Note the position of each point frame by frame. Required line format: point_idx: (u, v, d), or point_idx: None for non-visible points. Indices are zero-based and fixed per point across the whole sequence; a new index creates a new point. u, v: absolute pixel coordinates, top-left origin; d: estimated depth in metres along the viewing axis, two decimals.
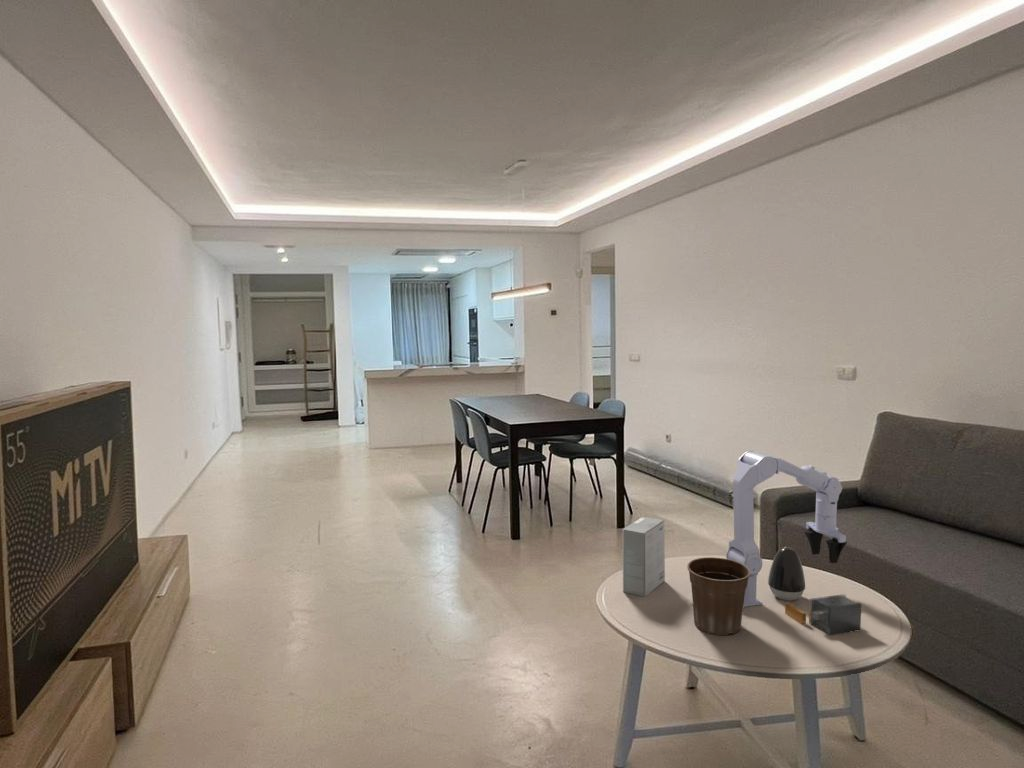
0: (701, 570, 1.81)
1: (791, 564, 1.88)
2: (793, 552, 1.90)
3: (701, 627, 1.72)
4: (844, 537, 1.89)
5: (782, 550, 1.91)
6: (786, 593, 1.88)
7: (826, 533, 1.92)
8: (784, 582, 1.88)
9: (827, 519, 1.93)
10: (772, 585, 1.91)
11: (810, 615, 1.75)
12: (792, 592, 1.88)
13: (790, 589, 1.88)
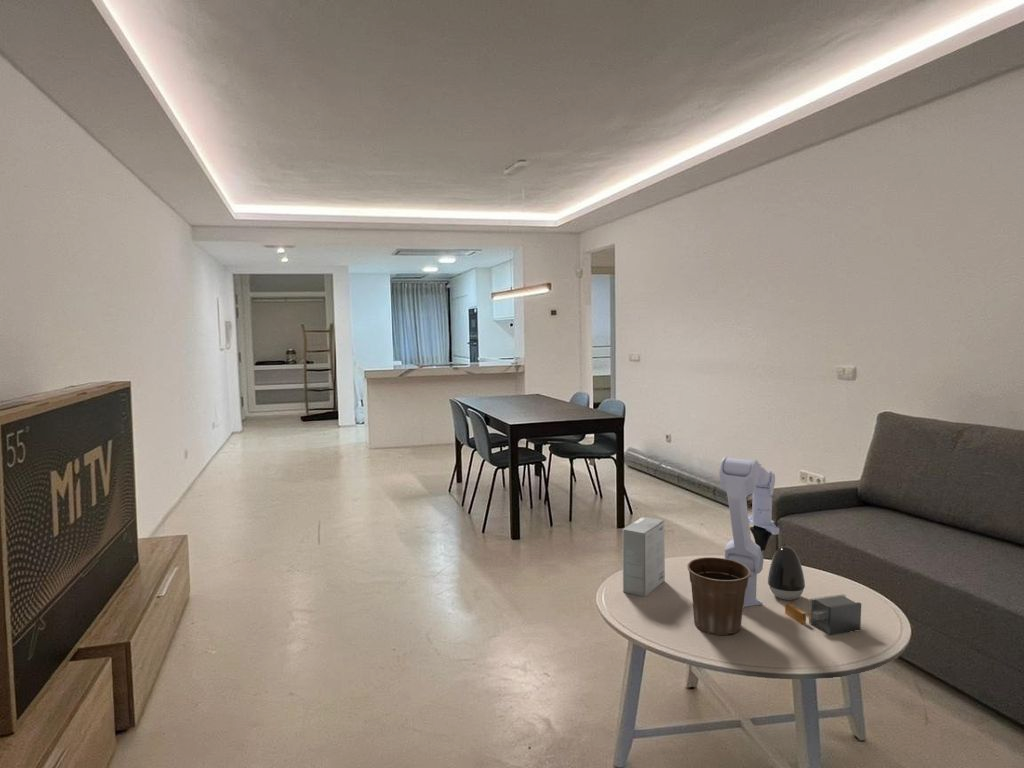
0: (701, 570, 1.81)
1: (789, 563, 1.89)
2: (791, 551, 1.90)
3: (701, 627, 1.72)
4: (777, 529, 1.97)
5: (780, 549, 1.92)
6: (786, 592, 1.89)
7: (761, 526, 2.00)
8: (783, 581, 1.88)
9: (762, 512, 2.00)
10: (772, 584, 1.91)
11: (810, 615, 1.75)
12: (792, 591, 1.88)
13: (790, 588, 1.88)
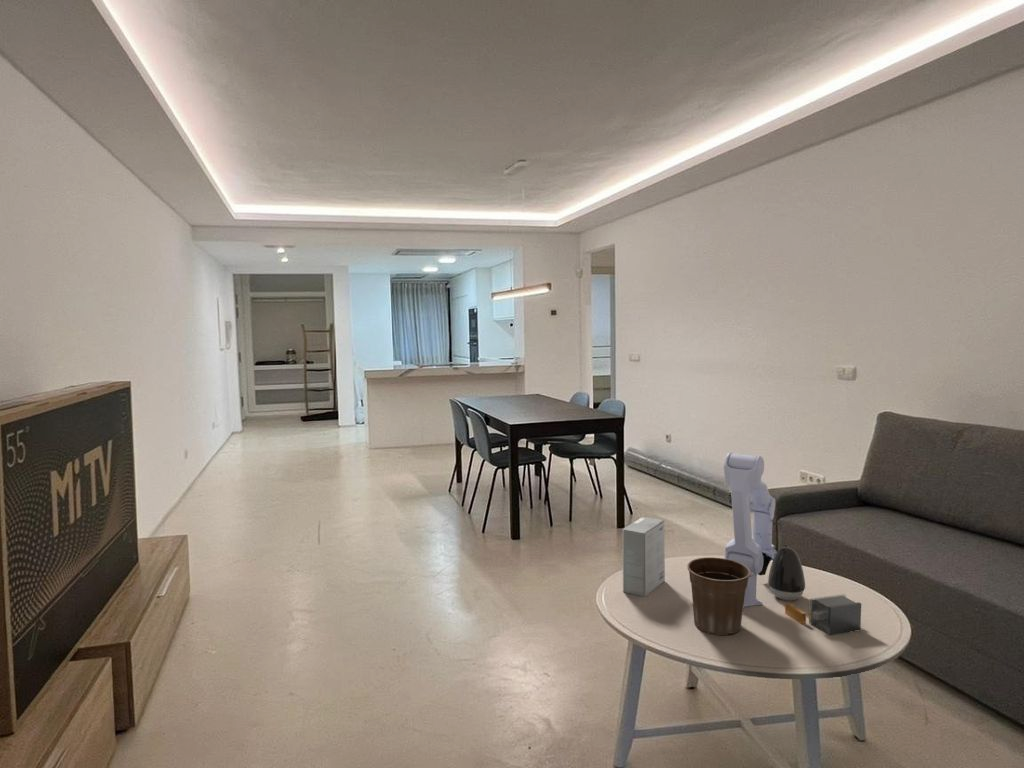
0: (701, 570, 1.81)
1: (790, 564, 1.88)
2: (793, 552, 1.90)
3: (701, 627, 1.72)
4: None
5: (782, 550, 1.91)
6: (786, 593, 1.88)
7: (761, 550, 2.00)
8: (783, 582, 1.88)
9: (762, 537, 2.01)
10: (772, 585, 1.91)
11: (810, 615, 1.75)
12: (792, 592, 1.88)
13: (790, 589, 1.88)
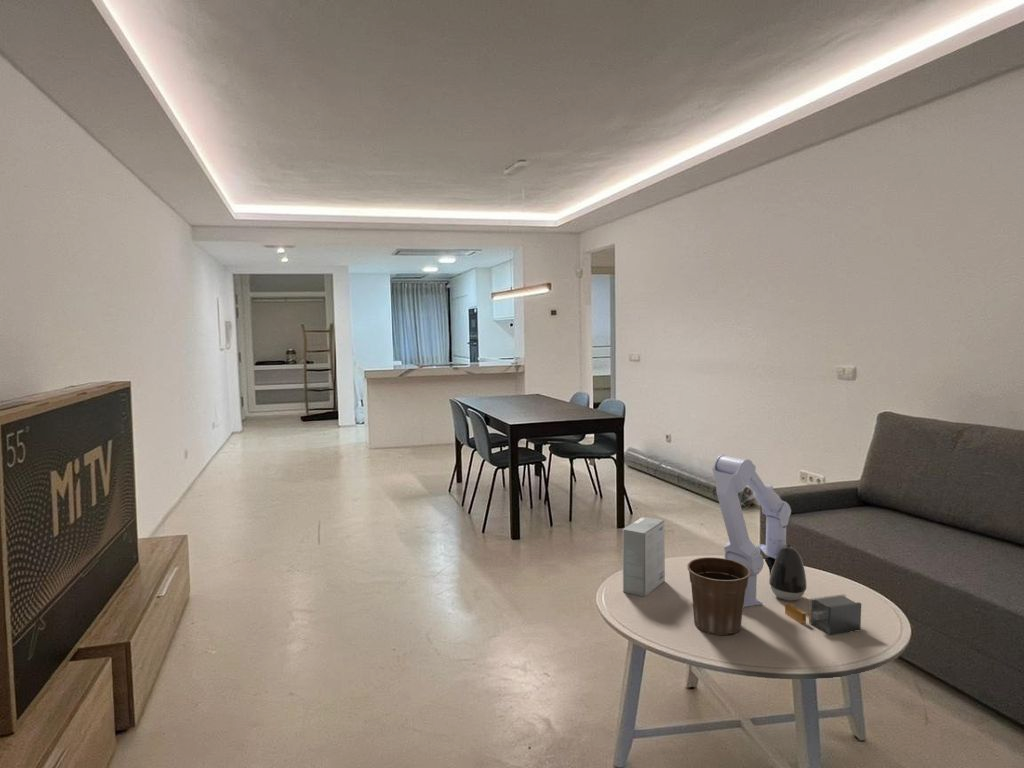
0: (701, 570, 1.81)
1: (792, 565, 1.88)
2: (795, 553, 1.89)
3: (701, 627, 1.72)
4: None
5: (784, 550, 1.91)
6: (786, 593, 1.88)
7: (775, 557, 1.94)
8: (784, 582, 1.88)
9: (776, 543, 1.94)
10: (773, 585, 1.91)
11: (810, 615, 1.75)
12: (792, 592, 1.88)
13: (791, 589, 1.87)
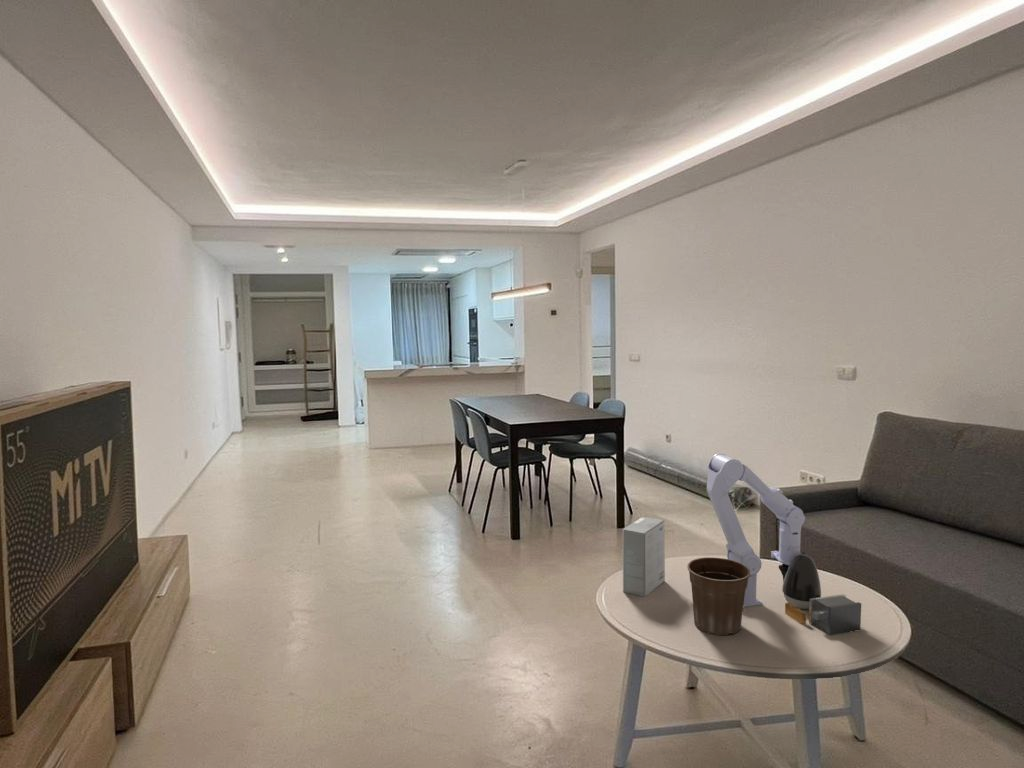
0: (701, 570, 1.81)
1: (806, 572, 1.82)
2: (809, 560, 1.83)
3: (701, 627, 1.72)
4: None
5: (798, 557, 1.85)
6: (799, 601, 1.83)
7: None
8: (797, 590, 1.82)
9: (790, 550, 1.88)
10: (786, 592, 1.85)
11: (810, 615, 1.75)
12: (806, 601, 1.82)
13: (804, 598, 1.82)
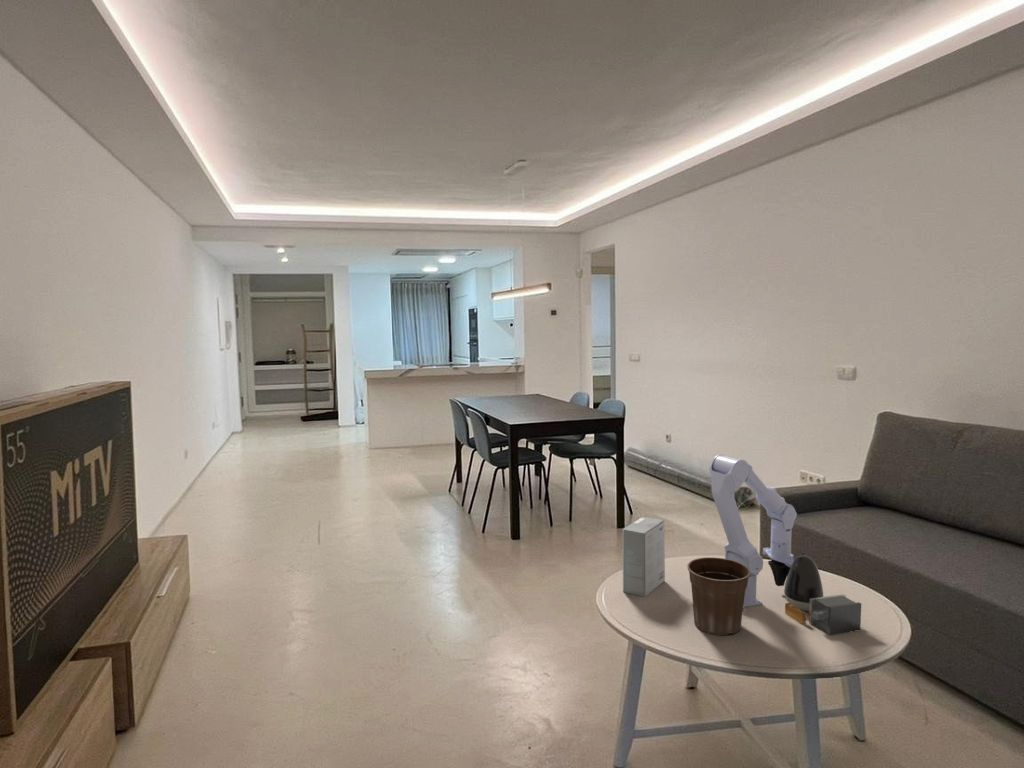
0: (701, 570, 1.81)
1: (808, 573, 1.81)
2: (810, 561, 1.83)
3: (701, 627, 1.72)
4: None
5: (799, 558, 1.84)
6: (802, 603, 1.81)
7: (780, 560, 1.92)
8: (800, 592, 1.81)
9: (781, 546, 1.92)
10: (788, 595, 1.84)
11: (810, 615, 1.75)
12: (809, 602, 1.81)
13: (807, 599, 1.80)
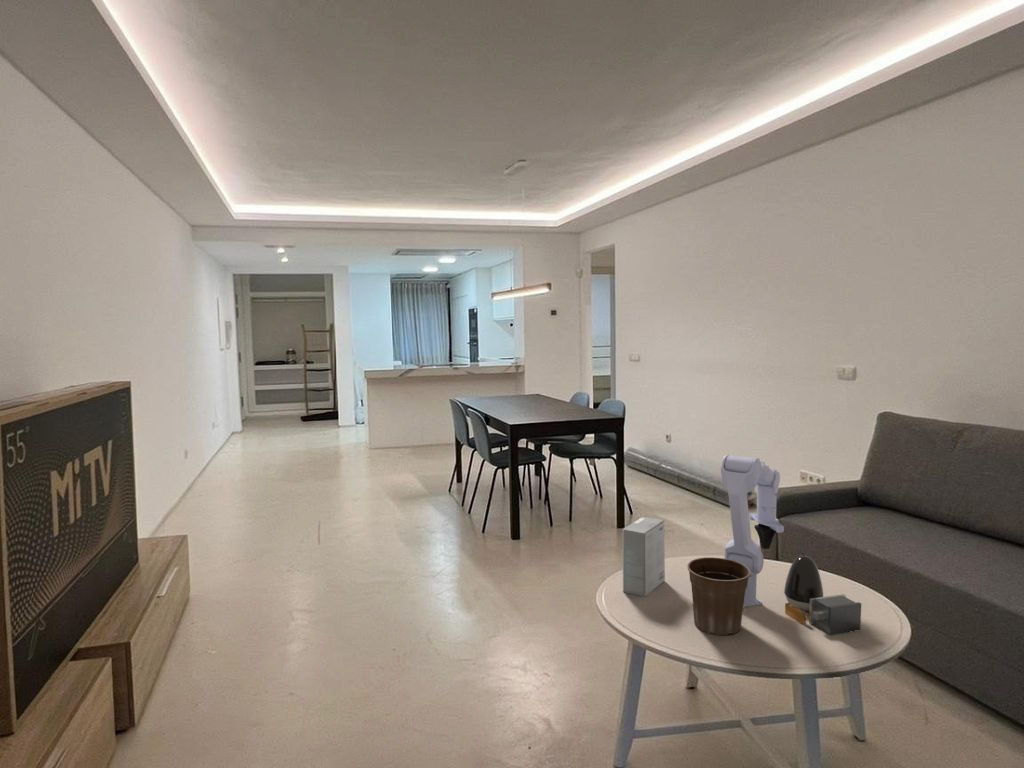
0: (701, 570, 1.81)
1: (808, 573, 1.81)
2: (810, 561, 1.83)
3: (701, 627, 1.72)
4: (782, 527, 1.98)
5: (799, 559, 1.84)
6: (802, 603, 1.81)
7: (766, 524, 2.01)
8: (800, 592, 1.81)
9: (767, 510, 2.01)
10: (788, 595, 1.84)
11: (810, 615, 1.75)
12: (809, 603, 1.81)
13: (807, 599, 1.80)
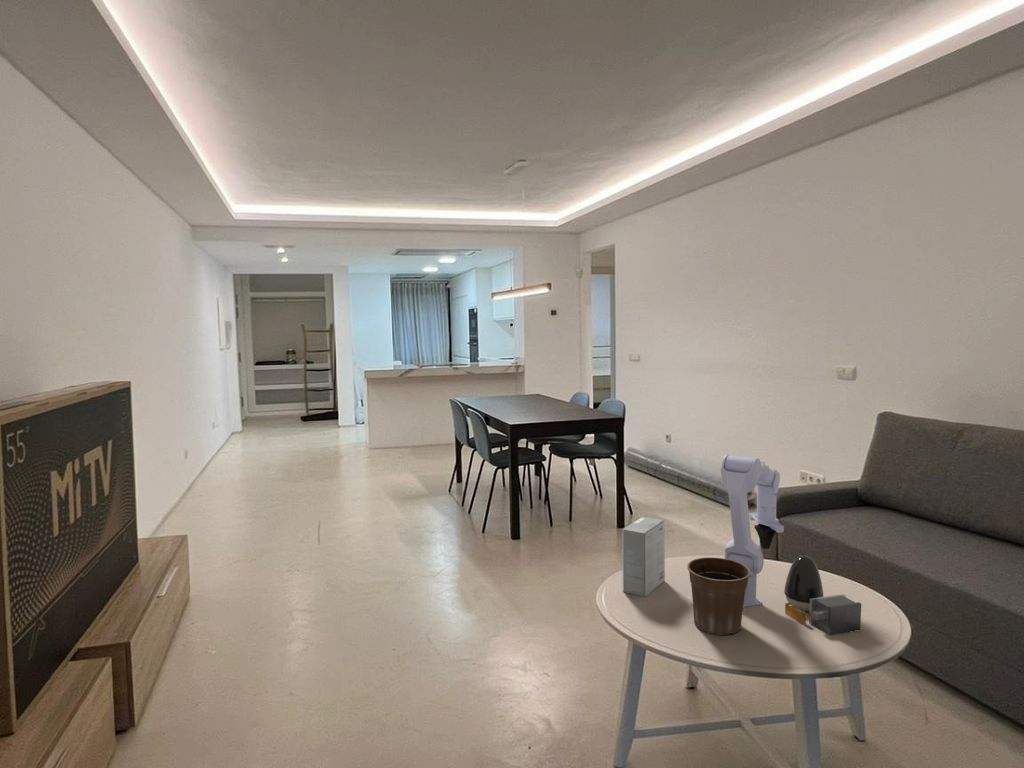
0: (701, 570, 1.81)
1: (808, 573, 1.81)
2: (810, 561, 1.83)
3: (701, 627, 1.72)
4: (782, 527, 1.98)
5: (799, 559, 1.84)
6: (802, 603, 1.81)
7: (766, 524, 2.01)
8: (800, 592, 1.81)
9: (767, 510, 2.01)
10: (788, 595, 1.84)
11: (810, 615, 1.75)
12: (809, 603, 1.81)
13: (807, 599, 1.80)
